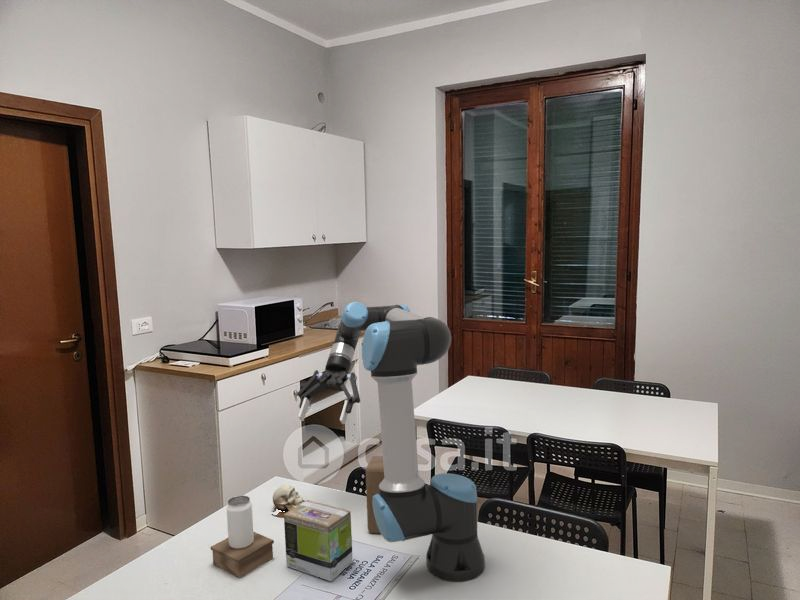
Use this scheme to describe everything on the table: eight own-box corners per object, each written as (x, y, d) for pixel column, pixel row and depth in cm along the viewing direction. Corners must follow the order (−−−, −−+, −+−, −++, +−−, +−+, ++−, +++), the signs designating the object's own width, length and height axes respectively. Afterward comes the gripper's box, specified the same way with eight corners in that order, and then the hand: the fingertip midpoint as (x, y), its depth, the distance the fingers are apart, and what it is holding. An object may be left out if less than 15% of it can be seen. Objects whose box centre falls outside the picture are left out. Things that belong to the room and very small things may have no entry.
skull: (315, 497, 187) (305, 484, 179) (305, 529, 180) (294, 517, 173) (282, 492, 190) (272, 479, 183) (271, 523, 184) (260, 511, 176)
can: (257, 537, 155) (255, 495, 154) (248, 550, 148) (245, 506, 147) (235, 536, 156) (232, 494, 154) (224, 549, 149) (221, 505, 148)
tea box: (354, 563, 150) (352, 509, 149) (330, 583, 142) (328, 527, 140) (309, 548, 158) (307, 497, 156) (285, 567, 149) (282, 513, 148)
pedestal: (274, 557, 154) (273, 540, 153) (239, 579, 144) (238, 560, 144) (246, 545, 161) (245, 528, 160) (211, 564, 151) (210, 546, 151)
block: (401, 536, 163) (399, 469, 161) (367, 534, 165) (364, 467, 163) (406, 519, 173) (404, 455, 171) (374, 517, 175) (371, 454, 172)
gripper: (379, 368, 181) (363, 429, 168) (309, 364, 188) (288, 423, 176) (373, 355, 175) (356, 417, 162) (300, 352, 183) (279, 411, 170)
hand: (321, 420), depth 169 cm, fingers open, 13 cm apart
